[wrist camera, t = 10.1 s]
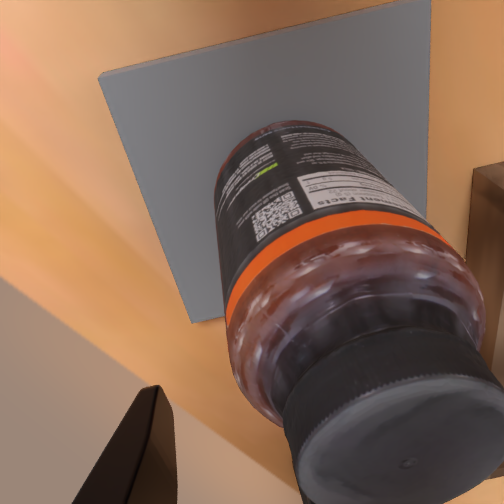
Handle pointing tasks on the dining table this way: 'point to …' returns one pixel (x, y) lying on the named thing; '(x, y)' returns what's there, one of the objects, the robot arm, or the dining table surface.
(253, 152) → the supplement bottle
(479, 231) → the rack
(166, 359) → the dining table surface
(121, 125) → the mat
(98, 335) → the dining table surface
